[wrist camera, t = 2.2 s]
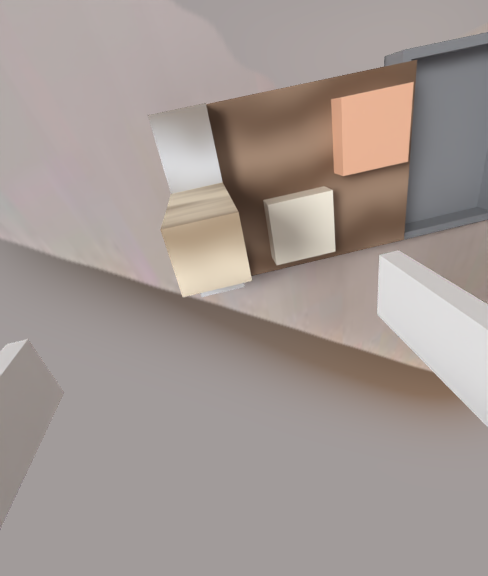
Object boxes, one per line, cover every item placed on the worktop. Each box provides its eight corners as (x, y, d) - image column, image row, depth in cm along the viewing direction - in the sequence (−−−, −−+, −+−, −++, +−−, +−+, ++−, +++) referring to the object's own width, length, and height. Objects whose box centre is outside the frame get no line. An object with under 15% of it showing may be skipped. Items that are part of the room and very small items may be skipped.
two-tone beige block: (241, 278, 33) (265, 351, 22) (201, 287, 32) (205, 366, 22) (204, 104, 25) (214, 90, 14) (150, 116, 25) (120, 109, 14)
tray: (477, 210, 39) (498, 216, 36) (379, 234, 38) (392, 242, 36) (511, 29, 30) (542, 20, 27) (384, 56, 29) (403, 49, 27)
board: (379, 226, 38) (403, 239, 33) (199, 268, 37) (200, 288, 32) (384, 69, 30) (417, 59, 26) (155, 117, 29) (149, 116, 25)
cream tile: (327, 244, 32) (335, 251, 30) (272, 257, 32) (276, 265, 30) (324, 186, 29) (332, 190, 28) (263, 200, 29) (267, 205, 27)
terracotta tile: (395, 159, 29) (408, 161, 27) (334, 173, 29) (343, 176, 27) (398, 84, 26) (413, 81, 24) (331, 99, 26) (341, 97, 24)
